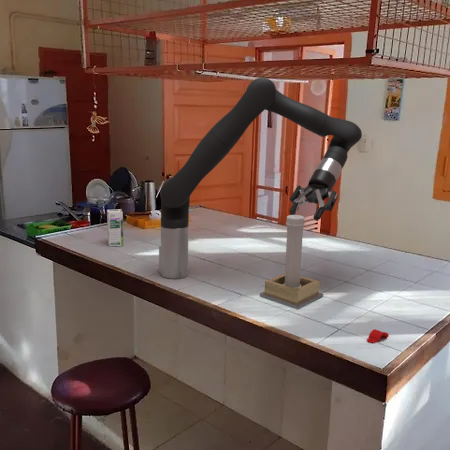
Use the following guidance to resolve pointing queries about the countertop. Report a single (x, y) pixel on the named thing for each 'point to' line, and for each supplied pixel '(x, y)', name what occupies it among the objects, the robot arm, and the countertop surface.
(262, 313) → the countertop surface
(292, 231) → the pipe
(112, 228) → the syrup box
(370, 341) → the pipe clamp
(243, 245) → the countertop surface
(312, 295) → the socket
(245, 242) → the countertop surface
